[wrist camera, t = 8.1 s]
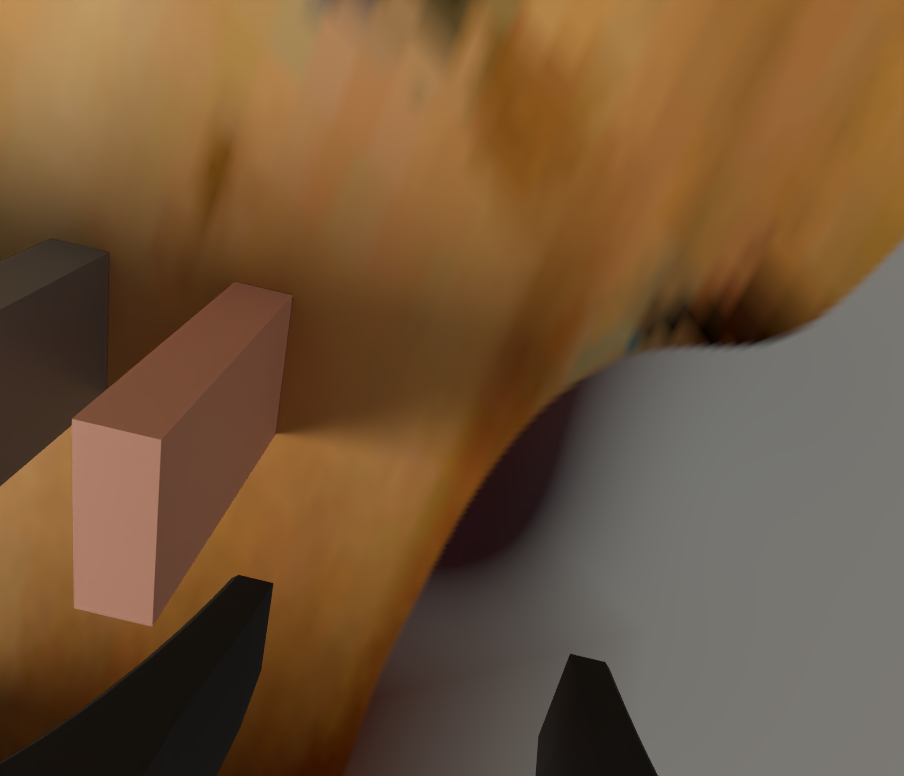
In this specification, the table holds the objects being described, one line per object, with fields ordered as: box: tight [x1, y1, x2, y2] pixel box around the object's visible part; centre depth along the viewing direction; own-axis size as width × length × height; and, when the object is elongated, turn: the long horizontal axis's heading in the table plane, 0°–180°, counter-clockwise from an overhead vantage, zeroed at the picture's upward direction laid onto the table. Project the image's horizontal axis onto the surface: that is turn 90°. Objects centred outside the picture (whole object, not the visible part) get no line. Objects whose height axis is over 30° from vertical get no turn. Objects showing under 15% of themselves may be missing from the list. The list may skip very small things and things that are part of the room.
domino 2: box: [72, 282, 293, 626], centre depth 18 cm, size 4×2×8 cm, turn 168°
